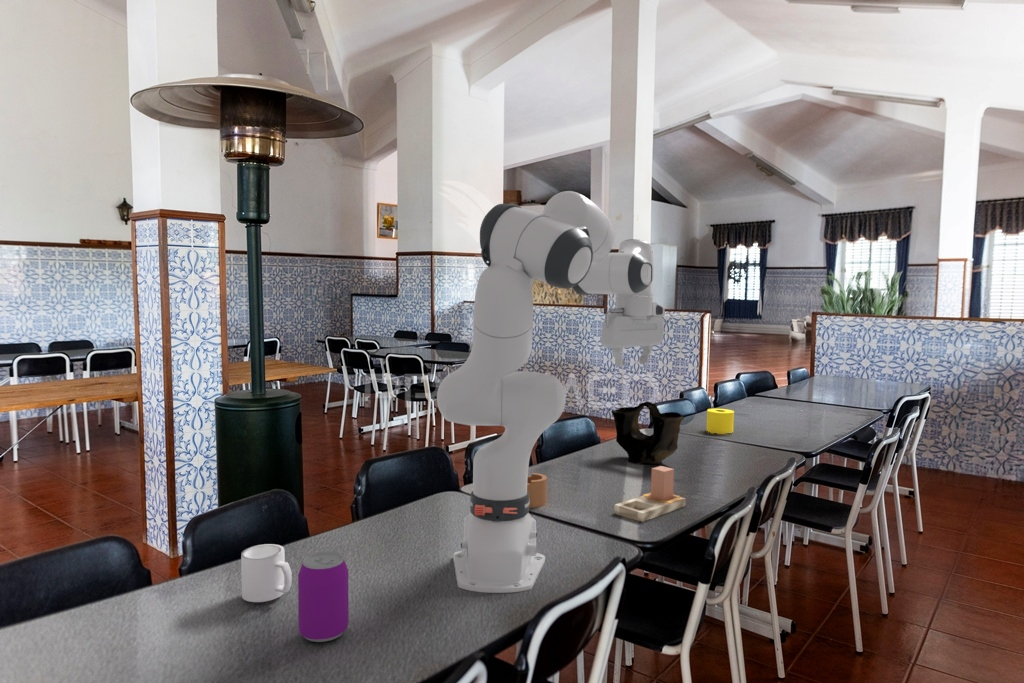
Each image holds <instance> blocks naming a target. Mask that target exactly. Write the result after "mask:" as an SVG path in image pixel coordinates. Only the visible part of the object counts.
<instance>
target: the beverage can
mask: <svg viewBox="0 0 1024 683" xmlns="http://www.w3.org/2000/svg"><path fill="white" fill-rule="evenodd" d="M297 586H298V587H297V598H298V599H297V600H298V601H297V603H298V606H297V607H298V610H297V612H298V614H297V616H298V619H297V621H298V631H299V634H300V635H301V636H302V637H303V638H305V639H306V640H307V641H310V642H313V643H314V642H315V643H325V642H328V641H329V642H330V641H333V640H336V639H337V638H339V637H341V636H342V634H344V633H345V631H346V630H347V629H348V626H349V620H350V619H349V618H350V617H349V614H350V613H349V606H350V604H349V568H348V566H347V564H346V560H345V558H344V556H343V554H342V553H340V552H336V551H328V550H327V551H319V552H315V553H314V552H313V553H311V554H308V555H306V556H305V557H303V561H302V563H301V566H300V569H299V572H298V574H297Z"/></svg>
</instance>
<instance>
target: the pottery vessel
mask: <svg viewBox="0 0 1024 683" xmlns="http://www.w3.org/2000/svg"><path fill="white" fill-rule="evenodd" d="M645 407H646V408H647V409H648V411H649V412H650V417H651V420H652V425H653V427H652V428H653V429H652V430H653V433H652V434H651V435H647V434H645V433H643V432H642V431H640V426H639V417H640V414H641V412H642V410H644V408H645ZM611 414H612V416H613V420H614V424H615V426H614V427H615V431H616V437H615V438H616V439H615V442H616V443H617V444H618V445H619V447H621V448H622V450H624V452H626V454H627V462H628V463H629V464H630V463H631V464H635V465H641V464H652V465H655V464H657V465H658V464H659V465H662V464H663V460H665V459H667V458H668V457H670V456H672V455H673V454H674V453H675V452H676V450H677V449H678V441H679V434H680V433H681V432H680V431H681V429H680V428H681V422H682V421H683V420H685V416H684V415H682V414H681V413H679V412H673V411H671V412H670V411H669V412H662V413H661V411H660V409H659V408H658V406H657V405H656V404H654V403H653V402H651V401H644V402H641V403H639V404H638V405H637V406H636V405H635V406H626V407H625V406H623V407H620V408H618V409H614V410H613V409H612V411H611ZM659 465H658V466H659Z"/></svg>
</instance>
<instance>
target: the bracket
mask: <svg viewBox="0 0 1024 683" xmlns="http://www.w3.org/2000/svg"><path fill="white" fill-rule="evenodd" d="M527 491H528V493H529V499H530V504H529V509H536V508H541V507H544V506H546V505H547V503H548V502H547V501H548V497H547V495H548V493H547V492H548V477H547V475H545V474H543V473H537V472H531V475H528V479H527Z"/></svg>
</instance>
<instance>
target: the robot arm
mask: <svg viewBox="0 0 1024 683" xmlns="http://www.w3.org/2000/svg"><path fill="white" fill-rule="evenodd" d="M479 228H480V230H479V245H480V255H481V260H483V263H484V264H485V266H487V268H486V269H484V270H483V271H481V274H480V275H479V277H478V280H477V285H476V290H475V295H474V304H473V319H472V320H473V325H472V326H473V328H472V329H473V331H472V332H473V334H472V345H471V346H472V347H471V351H470V354H469V355H468V358H467V360H466V361H464V363H463V364H462V365H460V367H458V368H457V369H455V370H454V371H452V372H451V373H449V374H447V375H446V376H445V377H444V378H443V379H442V381H441V382H440V384H439V386H438V389H437V393H436V404H437V408H438V410H439V412H440V414H441V416H442V417H443V418H444V419H445V421H447V422H450V423H453V424H454V423H455V424H459V425H460V424H461V425H464V426H465V425H466V426H483V427H484V426H485V427H487V426H489V427H492V426H493V427H495V426H496V427H499V426H500V427H504V432H503V433H502V435H501V436H499V437H498V438H497V439H495V440H492V441H490V442H488V443H485V445H482V446H481V447H480V448H479V449H478V450H477V452H475V454H474V456H473V462H472V463H473V464H472V466H473V468H472V475H473V476H472V491H471V492H470V498H469V504H470V505H469V506H470V508H469V509H470V510H469V511H470V512H469V513H468V515H466V516H465V517H464V518H463V541H462V542H460V548H461V550H458V551H455V552H454V553H453V557H452V560H453V566H454V572H455V573H454V574H455V579H456V585H457V587H458V588H460V589H463V590H467V591H469V592H477V593H489V594H490V593H494V594H496V593H497V594H503V593H504V594H505V593H507V594H509V593H519V592H525V591H528V590H531V589H532V588H533V587H534V585H535V583H536V580H537V578H538V576H539V574H540V572H541V570H542V568H543V567H544V564H545V562H546V556H545V555H544V554H542V553H540V552H538V545H537V538H538V531H537V520H536V519H535V518H534V517H533V516H531V514H530V513H529V512H530V508H529V504H530V499H529V493H528V491H527V479H528V476H529V475H528V474H529V466H530V458H531V454H532V450H533V448H534V446H535V444H536V442H537V440H539V438H540V437H541V435H542V434H543V433H544V432H545V430H547V429H548V428H549V427H550V426H551V425H553V424H554V423H555V422H557V421H558V420H559V419H560V417H561V416H562V415H563V412H564V409H565V406H566V401H567V399H566V398H567V397H566V391H565V389H564V386H563V384H562V382H561V381H560V379H559V378H557V377H556V376H555V375H552V374H546V373H543V372H538V371H519V369H522V367H523V366H524V365H525V364H526V362H527V361H528V359H529V358H530V356H531V353H532V349H533V347H532V346H533V329H534V301H533V300H534V298H533V290H532V288H533V285H534V282H535V280H537V281H541V282H542V283H547V284H548V285H549V286H551V287H555V288H558V289H563V290H564V289H565V290H566V289H567V290H569V289H572V290H573V291H574V292H575V293H576V294H577V295H580V296H586V295H587V296H588V295H589V296H590V295H615V304H614V305H615V306H614V307H615V308H613V307H612V308H609V309H608V310H607V312H606V313H605V315H604V319H603V323H602V328H601V337H600V338H601V339H600V344H601V346H602V347H603V348H606V349H611V352H612V355H613V357H614V365H615V366H616V367H619V368H620V367H625V365H626V364H625V361H626V360H625V359H624V358H623V355H622V353H623V351H624V350H623V348H634V347H641V350H642V353H641V355H640V356H639V361H638V362H639V364H640V365H648V364H649V362H650V359H649V357H650V356H651V354H652V352H653V346H660V345H661V344H662V342H663V340H664V331H665V330H664V328H665V322H664V321H665V320H664V318H663V316H664V315H665V311H666V310H665V306H664V305H661V304H659V303H657V302H655V301H654V300H653V296H654V295H653V294H654V293H653V290H652V283H653V281H654V257H653V255H654V254H653V249H652V245H651V243H649V242H648V241H646V240H643V239H642V240H641V239H634V238H633V239H632V238H631V239H626V240H622V241H621V242H620V243H619V247H618V252H611V250H612V248H613V246H614V244H615V243H614V242H615V231H614V230H615V229H614V227H613V224H612V222H611V220H610V219H609V217H608V215H606V214H605V213H604V212H603V209H601V208H600V207H599V206H598V205H597V204H596V203H595V202H594V201H592V200H591V199H589V198H588V197H586V196H585V195H583V194H581V193H579V192H576V191H573V190H566V191H561V192H559V193H556V194H554V195H553V196H552V197H550V199H549V200H548V201H547V202H546V204H545V205H544V208H543V211H542V213H540V212H538V211H534V210H531V209H526V208H523V207H522V206H520V205H518V204H512V203H499V204H496V205H494V206H493V207H492V208H491V209H490V210H489V211H487V213H486V214H485V216H484V218H483V219H482V222H481V224H480V227H479Z"/></svg>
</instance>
